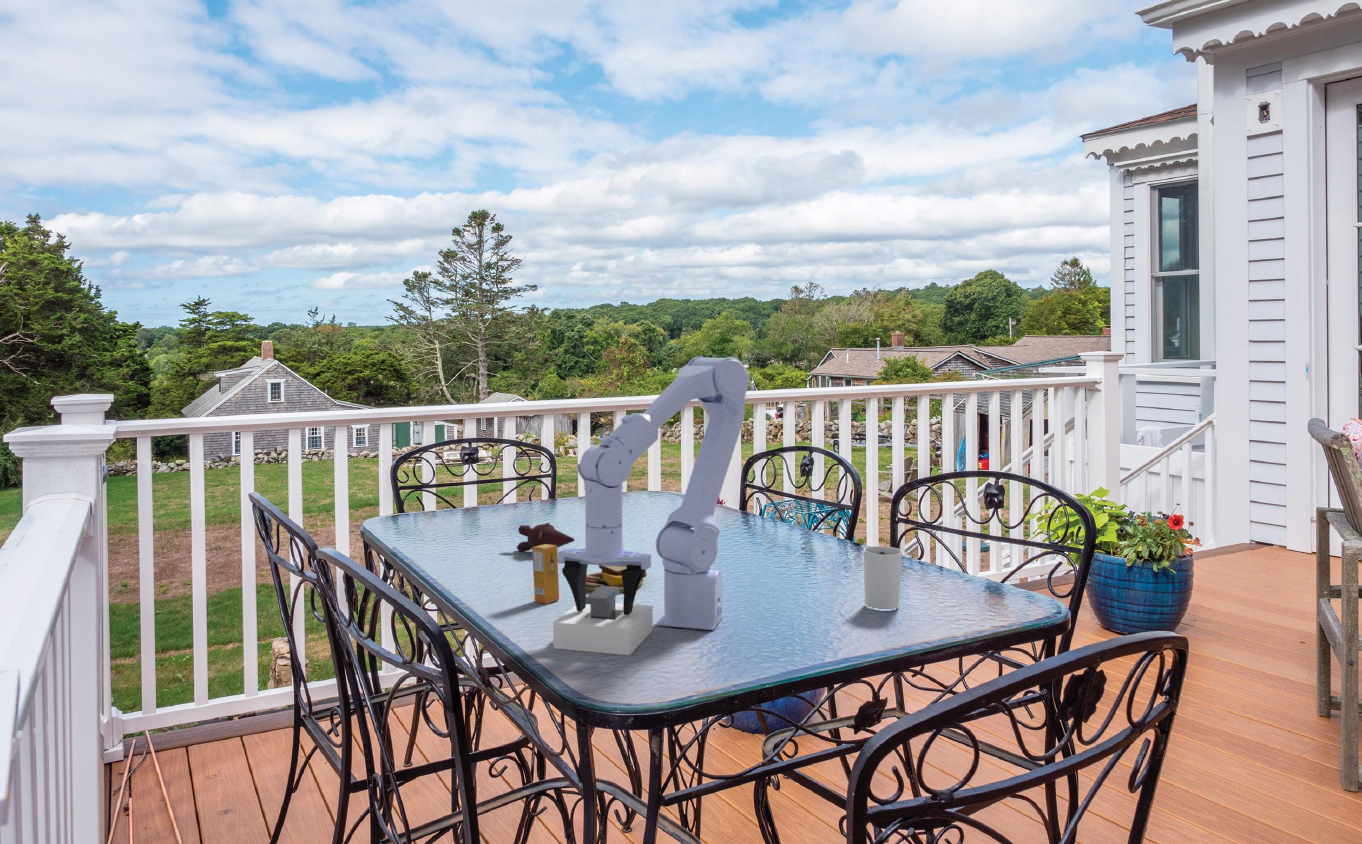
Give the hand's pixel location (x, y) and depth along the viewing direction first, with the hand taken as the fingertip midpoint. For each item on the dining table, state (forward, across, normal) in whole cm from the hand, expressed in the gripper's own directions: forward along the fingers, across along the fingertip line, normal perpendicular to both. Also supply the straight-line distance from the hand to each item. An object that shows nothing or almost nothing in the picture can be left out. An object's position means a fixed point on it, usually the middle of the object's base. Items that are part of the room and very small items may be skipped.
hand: (604, 611), depth 139 cm
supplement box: (+5, -17, +17) cm, 24 cm away
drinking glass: (+5, +41, +29) cm, 50 cm away
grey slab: (+3, 0, -1) cm, 3 cm away
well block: (+4, 0, 0) cm, 4 cm away
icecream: (+5, -32, +51) cm, 60 cm away
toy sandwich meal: (+5, -9, +31) cm, 33 cm away
